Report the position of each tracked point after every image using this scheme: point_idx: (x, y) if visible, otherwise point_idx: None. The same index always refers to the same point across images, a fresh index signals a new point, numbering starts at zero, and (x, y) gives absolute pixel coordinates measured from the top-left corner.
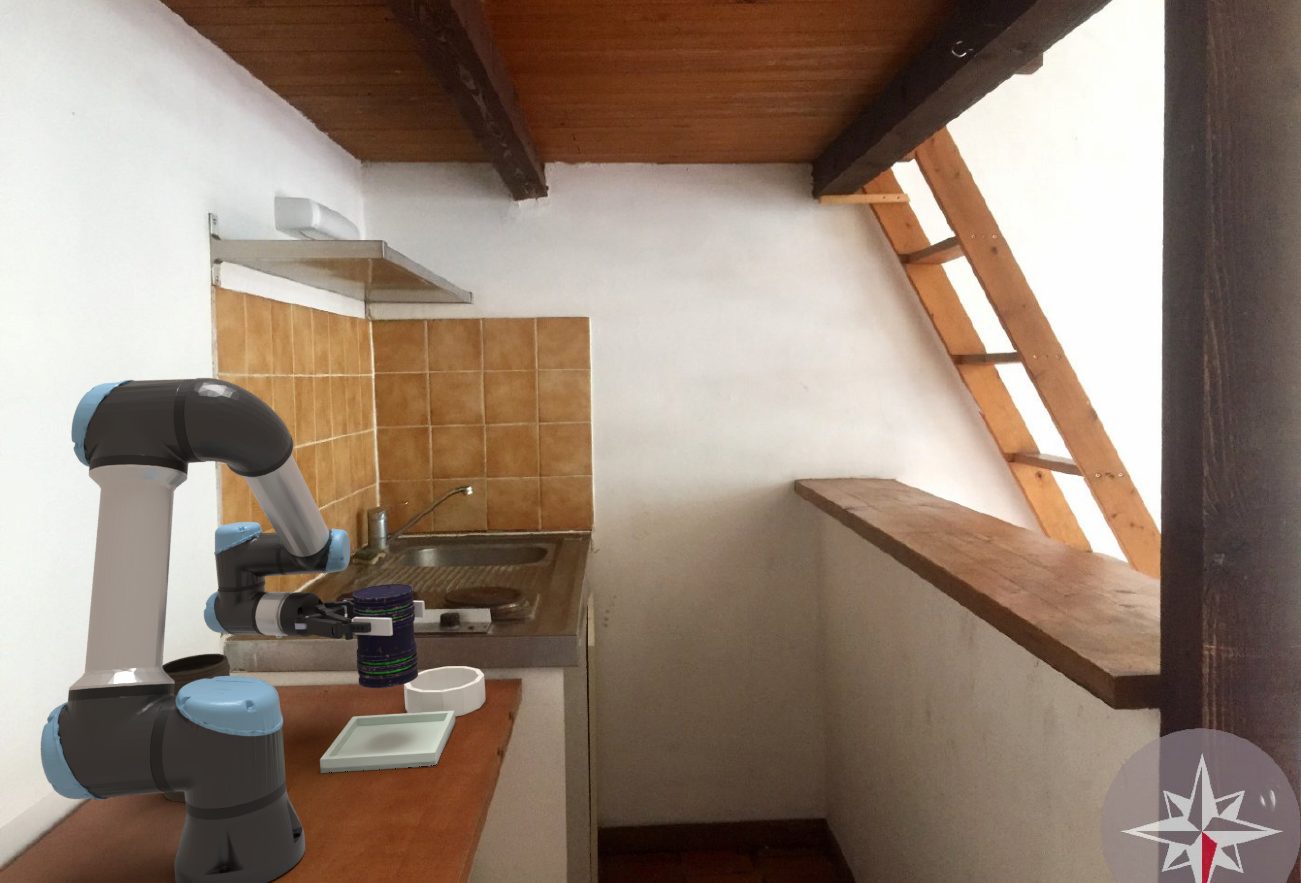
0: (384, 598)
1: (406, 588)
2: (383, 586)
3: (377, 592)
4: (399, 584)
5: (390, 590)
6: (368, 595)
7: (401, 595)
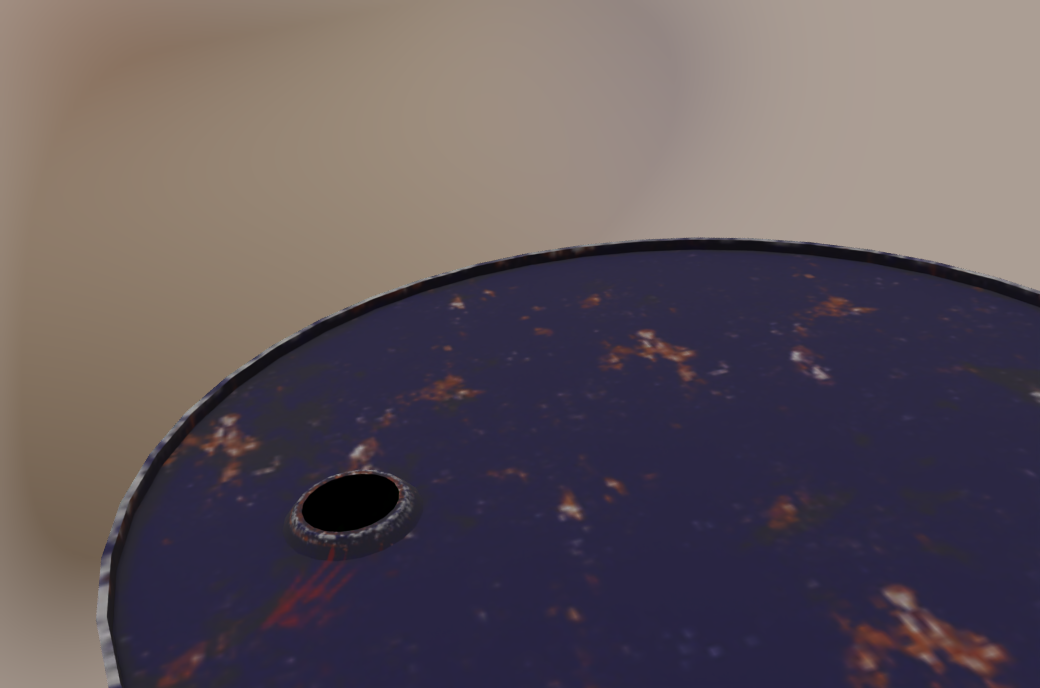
0: (965, 284)
1: (408, 331)
2: (229, 655)
3: (753, 482)
4: (148, 471)
5: (559, 405)
6: (1028, 481)
7: (734, 253)
